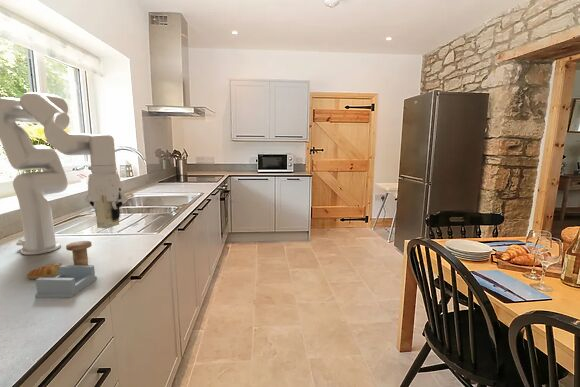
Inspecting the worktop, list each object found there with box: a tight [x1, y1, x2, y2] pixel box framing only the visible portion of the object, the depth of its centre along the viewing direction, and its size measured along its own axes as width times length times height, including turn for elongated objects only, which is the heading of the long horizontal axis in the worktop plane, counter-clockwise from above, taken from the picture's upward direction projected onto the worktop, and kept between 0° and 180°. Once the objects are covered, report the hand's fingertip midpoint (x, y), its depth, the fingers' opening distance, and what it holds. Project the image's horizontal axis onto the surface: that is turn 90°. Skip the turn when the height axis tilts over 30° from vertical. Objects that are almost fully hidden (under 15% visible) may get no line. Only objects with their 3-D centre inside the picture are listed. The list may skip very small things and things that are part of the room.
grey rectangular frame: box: [34, 264, 98, 299], centre depth 91 cm, size 10×12×5 cm
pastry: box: [26, 263, 63, 280], centre depth 99 cm, size 9×7×4 cm
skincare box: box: [95, 195, 120, 229], centre depth 110 cm, size 6×4×12 cm
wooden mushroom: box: [65, 240, 93, 265], centre depth 102 cm, size 7×7×10 cm
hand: (108, 218), depth 110 cm, fingers closed on skincare box, 5 cm apart
